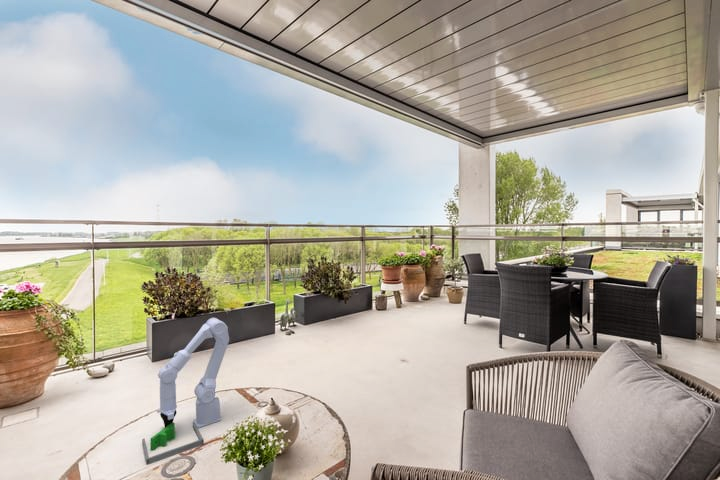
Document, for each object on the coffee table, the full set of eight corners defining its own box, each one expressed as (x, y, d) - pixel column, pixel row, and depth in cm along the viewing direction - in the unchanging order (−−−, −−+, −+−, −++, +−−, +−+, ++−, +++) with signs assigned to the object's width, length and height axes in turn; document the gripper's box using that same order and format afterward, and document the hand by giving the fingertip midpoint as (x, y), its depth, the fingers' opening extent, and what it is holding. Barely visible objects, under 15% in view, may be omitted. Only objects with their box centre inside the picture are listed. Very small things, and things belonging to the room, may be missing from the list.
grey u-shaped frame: (194, 426, 144) (194, 422, 144) (203, 444, 131) (203, 439, 131) (142, 443, 132) (142, 439, 132) (146, 464, 120) (146, 459, 120)
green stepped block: (158, 451, 127) (158, 439, 127) (150, 450, 128) (150, 438, 128) (180, 434, 138) (180, 423, 138) (172, 433, 139) (172, 422, 139)
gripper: (154, 393, 142) (155, 425, 142) (159, 406, 130) (159, 441, 131) (173, 388, 146) (174, 419, 146) (179, 400, 135) (180, 434, 135)
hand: (168, 429), depth 139 cm, fingers closed
